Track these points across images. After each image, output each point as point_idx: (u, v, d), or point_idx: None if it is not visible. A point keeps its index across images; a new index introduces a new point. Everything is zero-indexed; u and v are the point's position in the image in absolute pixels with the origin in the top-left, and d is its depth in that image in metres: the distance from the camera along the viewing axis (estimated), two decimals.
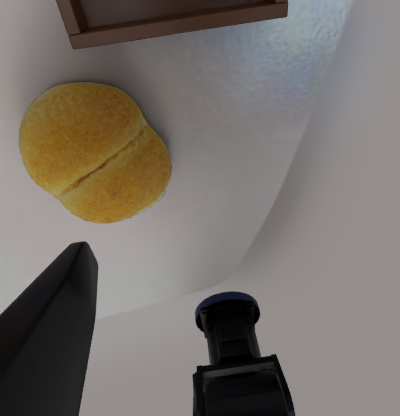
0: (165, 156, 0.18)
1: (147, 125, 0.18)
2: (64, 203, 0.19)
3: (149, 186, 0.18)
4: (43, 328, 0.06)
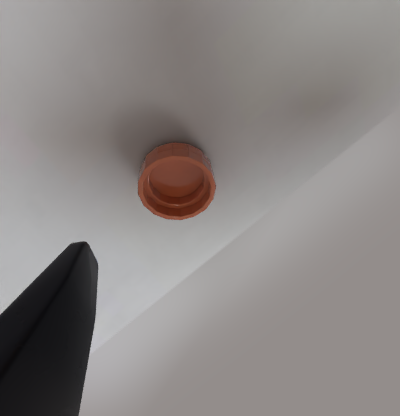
0: None
1: None
2: None
3: None
4: (43, 328, 0.06)
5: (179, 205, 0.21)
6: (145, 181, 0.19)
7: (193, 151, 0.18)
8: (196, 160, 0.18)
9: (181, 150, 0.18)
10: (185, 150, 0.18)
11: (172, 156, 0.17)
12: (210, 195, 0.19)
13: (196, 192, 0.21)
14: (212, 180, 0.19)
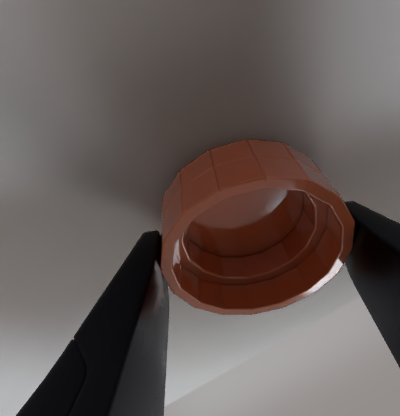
0: None
1: None
2: None
3: None
4: (144, 313, 0.06)
5: (246, 279, 0.09)
6: None
7: (304, 162, 0.07)
8: (325, 188, 0.06)
9: (281, 161, 0.07)
10: (289, 160, 0.07)
11: (265, 178, 0.06)
12: (332, 267, 0.08)
13: (281, 248, 0.10)
14: (350, 236, 0.07)
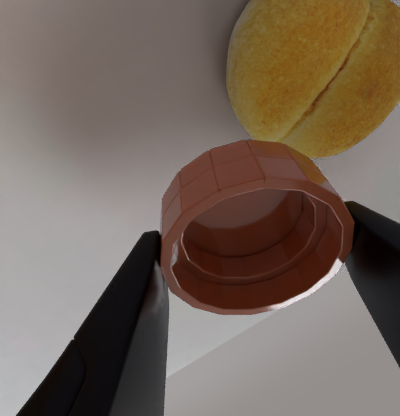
0: None
1: None
2: (290, 146, 0.16)
3: None
4: (143, 313, 0.06)
5: (245, 279, 0.09)
6: None
7: (304, 162, 0.07)
8: (325, 188, 0.06)
9: (280, 161, 0.07)
10: (289, 160, 0.07)
11: (264, 178, 0.06)
12: (332, 267, 0.08)
13: (280, 248, 0.10)
14: (349, 236, 0.07)
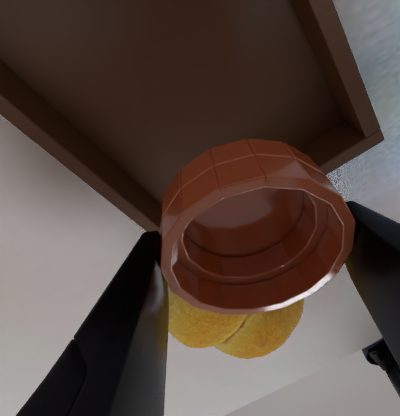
0: None
1: None
2: (217, 348, 0.21)
3: (290, 321, 0.18)
4: (143, 313, 0.06)
5: (246, 279, 0.09)
6: None
7: (305, 161, 0.07)
8: (326, 187, 0.06)
9: (281, 161, 0.07)
10: (289, 159, 0.07)
11: (265, 177, 0.06)
12: (333, 266, 0.08)
13: (281, 248, 0.10)
14: (350, 235, 0.07)
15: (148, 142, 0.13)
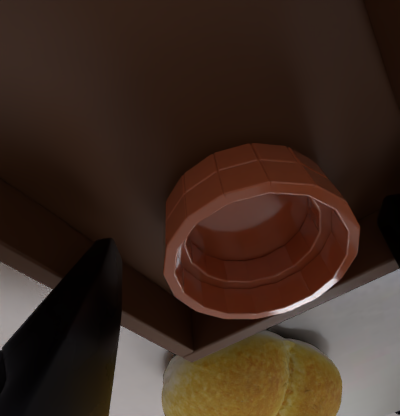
0: (330, 375, 0.14)
1: (291, 345, 0.14)
2: None
3: None
4: (79, 323, 0.06)
5: (249, 283, 0.09)
6: None
7: (309, 166, 0.07)
8: (331, 193, 0.06)
9: (285, 166, 0.07)
10: (294, 164, 0.07)
11: (270, 183, 0.06)
12: (337, 272, 0.08)
13: (284, 252, 0.10)
14: (355, 240, 0.07)
15: (144, 218, 0.09)
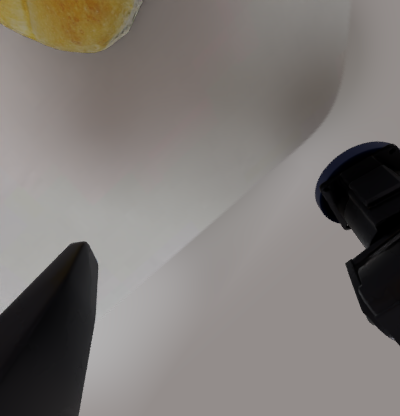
0: None
1: None
2: (39, 30, 0.13)
3: None
4: (43, 328, 0.06)
5: None
6: None
7: None
8: None
9: None
10: None
11: None
12: None
13: None
14: None
15: None
